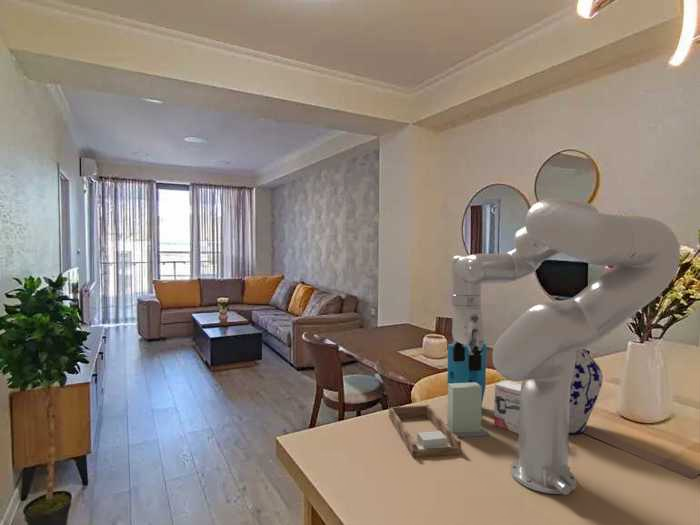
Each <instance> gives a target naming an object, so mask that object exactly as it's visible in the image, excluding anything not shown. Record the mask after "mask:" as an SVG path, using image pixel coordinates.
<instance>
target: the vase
mask: <svg viewBox="0 0 700 525" xmlns="http://www.w3.org/2000/svg"><path fill="white" fill-rule="evenodd" d="M575 352H576V362H575V368H574V372H573V376H572V381H571V387H570V402H569V436H571V435H572V436H574V435H575V436H576V435H580V434H583V432H584V431H585V428H586V425H587V423H588V421H589V419H590V416H591V414H592V412H593V409H594V406H595V405H596V402H597V401H598V397H599V394H600V391H601V389H602V385H603V378H604V376H603V372H602V370H601V368H600V365H599V364H598V363H597V362H596V360H594V358H593V357H592V356H591V355H590V354H589V353H588V351H587V350H586V349H582V350H576V351H575Z"/></svg>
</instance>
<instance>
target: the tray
mask: <svg viewBox="0 0 700 525" xmlns="http://www.w3.org/2000/svg"><path fill="white" fill-rule="evenodd" d="M425 417H426V418H427V419H428V421H429V422H431V424H432V425H433V426H434V428H435V429H436V431H441V432H442V433H443V434H444V435H445V436H446V437H447V442H448V444H449V445H450V446H451V447H442V448H427V449H416V443H415V442H414V440H415V439H413V437H412V436H411V434H410V433H409V430H408V429H407V428H406V426H405V425H404V424H403V422H402V420H401V419H406V418H407V419H409V418H425ZM388 418H389V420H390V422H391V424H392V425H393V427H394V428H395V430H396V432H397V434H399V437H400V438H401V440H402V441H403V443H404V445H405V447H406V449H407V450H408V452H409V454H410V455H411V457H412V458H425V457H427V458H428V457H437V456H438V457H439V456H440V457H441V456H451V455H454V456H455V455H461V454H462V441H461V440H460V439H459V438H457V437H456V436H455V434H454V433H453V432H452V431H451V430H450V429H449V428H448V427H447V425H446V424H447V423H445V422H444V421H443V420H442V419H441V418H440V416H439V415H438V414H437V413H436V412H435V411H434V409H432V407H430V405H429V404H427V405H408V406H407V405H405V406H390V407H389V408H388Z"/></svg>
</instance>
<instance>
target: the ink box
mask: <svg viewBox="0 0 700 525" xmlns="http://www.w3.org/2000/svg"><path fill="white" fill-rule="evenodd" d="M521 386H522V383H521V384H520V383H517V382H514V381H510V380H508V381H507V380H500V381H499V382H497V383H494V411H493V415H494V416H493V418H494V420H493V425H494V426H496V427H499V428H501V429H505V430H507V431H511V432H513V433H515V434H519V411H520V391H521Z"/></svg>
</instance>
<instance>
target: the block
mask: <svg viewBox="0 0 700 525" xmlns="http://www.w3.org/2000/svg"><path fill="white" fill-rule="evenodd" d="M462 347H465V361H460V362H455V361H453V343H448V344H447V373H446V374H447V379H446V381H447V382H446V383H447V384H446V385H447V388H446V389H447V391H448V383H472V382H476V383H477V384H479V385H480V386H482V403H481V407H482V406H483V400H484V396H485V390H486V377H487V376H486V375H487V374H486V373H487V371H486V370H487V369H486V368H487V343H486V342H484V344H483V350H482V355H481V370H480V371H470V370H469V369H468V355H470V353H469V349H468V346H465V345H463V346H462ZM472 349H474V347H472Z"/></svg>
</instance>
